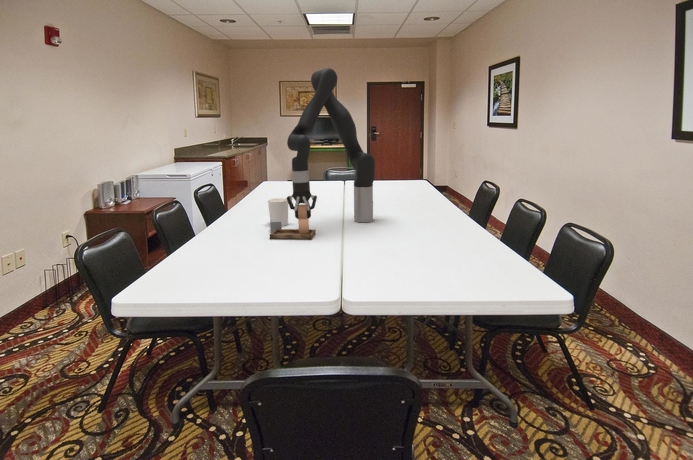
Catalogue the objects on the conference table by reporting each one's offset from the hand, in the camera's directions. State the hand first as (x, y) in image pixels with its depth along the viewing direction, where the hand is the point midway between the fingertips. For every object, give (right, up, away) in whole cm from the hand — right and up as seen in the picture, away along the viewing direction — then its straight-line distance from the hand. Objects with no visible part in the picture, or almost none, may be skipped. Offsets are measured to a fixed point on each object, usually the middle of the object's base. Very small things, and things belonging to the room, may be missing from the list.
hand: (303, 218), depth 214 cm
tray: (-4, -8, -7) cm, 12 cm away
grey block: (-12, -6, +3) cm, 14 cm away
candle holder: (-13, -3, +16) cm, 21 cm away
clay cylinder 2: (+1, -8, -8) cm, 11 cm away
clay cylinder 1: (0, -1, 0) cm, 1 cm away
